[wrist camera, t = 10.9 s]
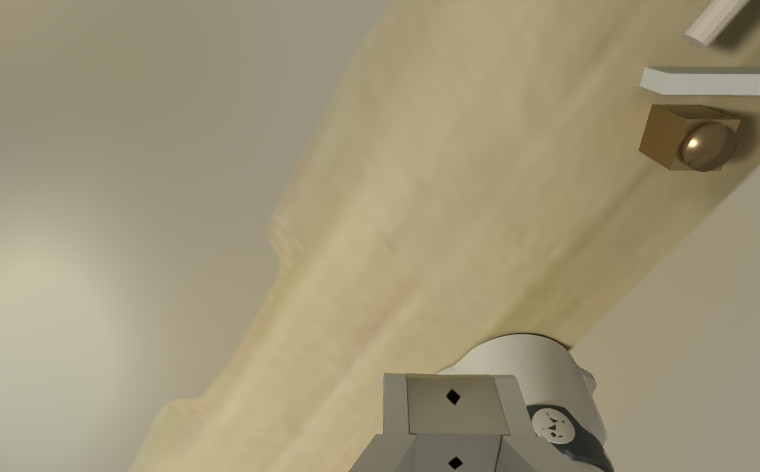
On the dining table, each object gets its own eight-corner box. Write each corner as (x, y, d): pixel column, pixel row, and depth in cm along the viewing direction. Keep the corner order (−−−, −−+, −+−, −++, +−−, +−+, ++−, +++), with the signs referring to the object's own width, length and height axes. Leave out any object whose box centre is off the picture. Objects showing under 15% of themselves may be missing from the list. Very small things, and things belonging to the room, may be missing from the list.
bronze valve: (683, 150, 39) (728, 174, 34) (638, 150, 39) (675, 173, 34) (699, 104, 38) (748, 122, 32) (651, 104, 38) (693, 122, 32)
